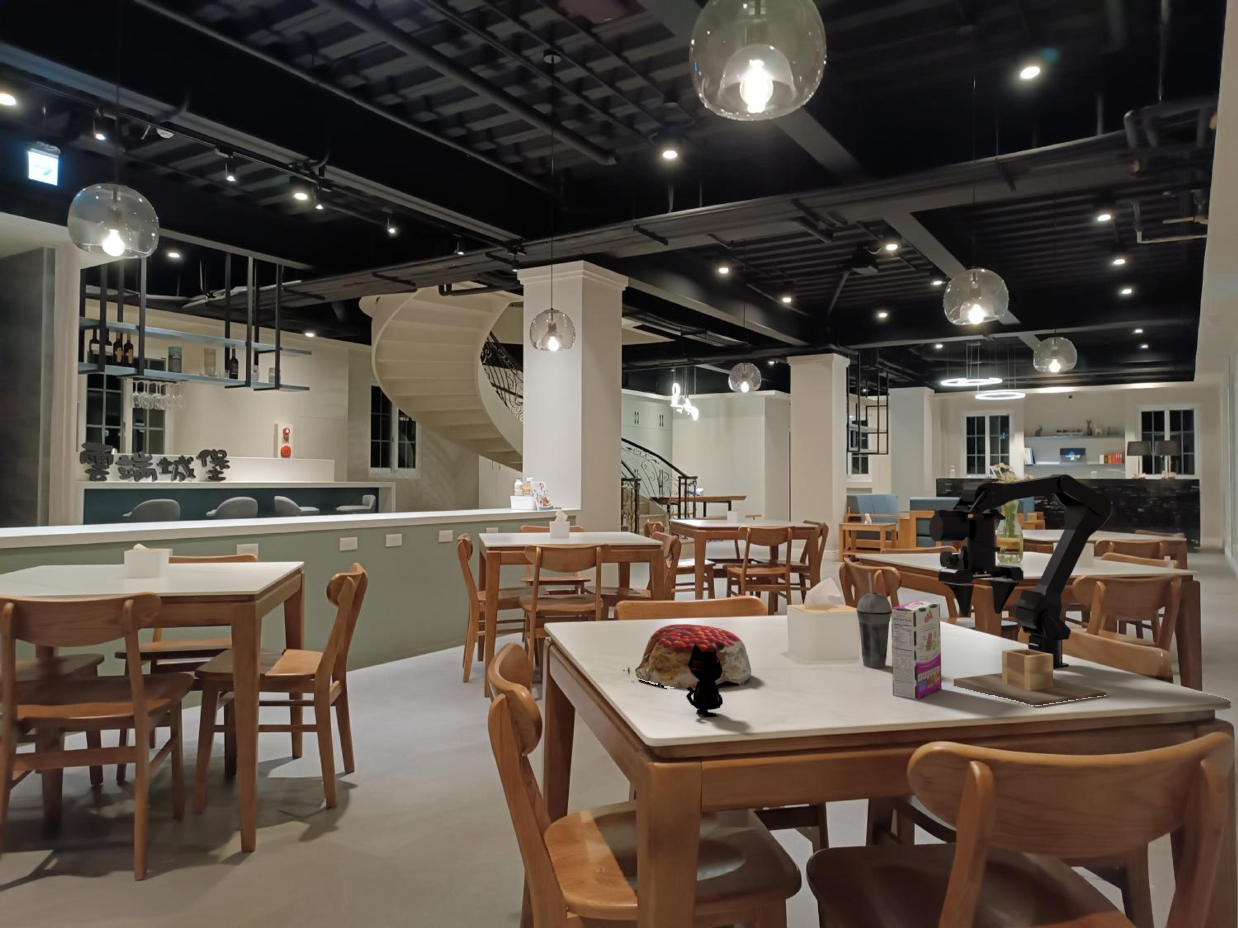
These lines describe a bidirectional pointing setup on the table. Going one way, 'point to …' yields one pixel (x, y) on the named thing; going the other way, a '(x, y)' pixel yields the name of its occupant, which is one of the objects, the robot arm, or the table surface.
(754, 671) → the table surface
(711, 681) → the cat figurine
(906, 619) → the candy bar box
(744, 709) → the table surface
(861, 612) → the beverage cup
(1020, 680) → the oak collar
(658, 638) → the cake
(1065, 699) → the pin board
